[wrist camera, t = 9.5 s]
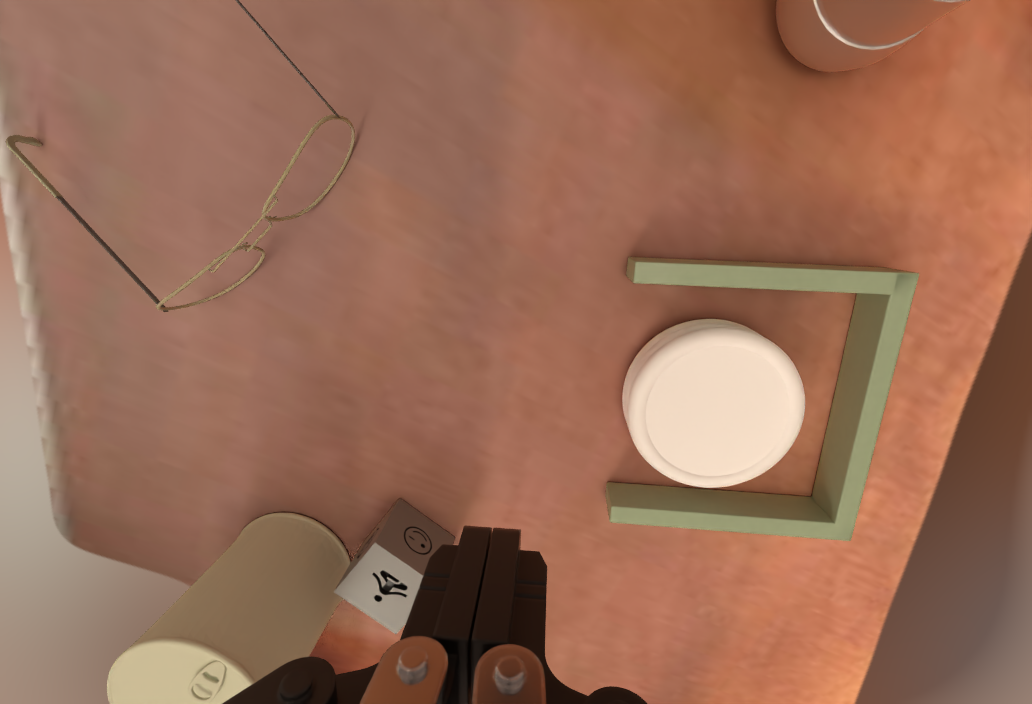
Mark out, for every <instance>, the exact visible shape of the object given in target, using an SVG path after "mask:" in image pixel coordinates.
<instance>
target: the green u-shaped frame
mask: <svg viewBox="0 0 1032 704" xmlns="http://www.w3.org/2000/svg"><path fill="white" fill-rule="evenodd" d="M626 276H627V277H628V278H629V279H630V280H631V281H632V282H633V283H640V284H662V285H684V286H707V287H729V288H751V289H774V290H796V291H818V292H841V293H857V296H856V300H855V305H854V309H853V314H852V318H851V322H850V327H849V331H848V336H847V340H846V345H845V349H844V354H843V358H842V363H841V367H840V371H839V376H838V380H837V385H836V389H835V394H834V398H833V403H832V407H831V412H830V416H829V421H828V425H827V429H826V434H825V438H824V443H823V447H822V452H821V456H820V461H819V465H818V470H817V474H816V479H815V483H814V487H813V492H812V496H811V497H808V496H794V495H780V494H766V493H752V492H738V491H724V490H711V489H697V488H683V487H669V486H655V485H641V484H627V483H614V482H607V485H606V496H605V497H606V503H607V509H608V515H609V521H610V522H612V523H625V524H637V525H650V526H663V527H676V528H689V529H702V530H715V531H728V532H740V533H753V534H766V535H779V536H792V537H805V538H818V539H831V540H843V541H851V538H852V534H853V530H854V526H855V522H856V518H857V514H858V510H859V506H860V503H861V499H862V495H863V491H864V487H865V483H866V479H867V475H868V471H869V467H870V463H871V460H872V456H873V452H874V448H875V444H876V440H877V436H878V432H879V428H880V424H881V420H882V417H883V413H884V409H885V405H886V401H887V397H888V393H889V389H890V385H891V381H892V377H893V374H894V370H895V366H896V362H897V358H898V354H899V350H900V346H901V342H902V338H903V335H904V331H905V327H906V323H907V319H908V315H909V311H910V307H911V303H912V299H913V295H914V292H915V289H916V285H917V281H918V277H919V273H915V272H909V271H903V270H897V269H891V268H885V267H865V266H841V265H817V264H792V263H768V262H744V261H720V260H695V259H671V258H647V257H628V263H627V274H626Z"/></svg>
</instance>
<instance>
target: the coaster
mask: <svg viewBox="0 0 1032 704" xmlns="http://www.w3.org/2000/svg"><path fill="white" fill-rule="evenodd" d="M622 405H623V412H624V416H625V420H626V422H627V426H628V429H629V431H630V435H631V438H632V440H633V442H634V444H635V446H636V448H637V449H638V451H639V453H640V454H641V455H642V456H643V458H644V459H645V460H646V461H647V462H648V463H649V464H650V465H651V466H652V467H654V468H655V469H656V470H658V471H659V472H660V473H662V474H663V475H665V476H667V477H669V478H671V479H673V480H675V481H678V482H680V483H683V484H687V485H691V486H696V487H705V488H718V487H726V486H732V485H736V484H740V483H743V482H746V481H748V480H751V479H753V478H755V477H757V476H759V475H761V474H763V473H764V472H766V471H767V470H769V469H770V468H771V467H773V466H774V465H775V464H776V463H777V462H779V461H780V460H781V458H782V457H783V456H784V455H785V454H786V453H787V452H788V450H789V449H790V448H791V446H792V445H793V443H794V441H795V439H796V438H797V436H798V433H799V431H800V428H801V425H802V422H803V418H804V412H805V393H804V388H803V384H802V381H801V378H800V375H799V373H798V371H797V369H796V367H795V365H794V363H793V362H792V361H791V359H790V358H789V356H788V355H787V354H786V353H785V352H784V351H783V350H782V349H781V348H780V347H778V346H777V345H776V344H774V343H773V342H772V341H770V340H768V339H767V338H765V337H763V336H762V335H760V334H758V333H757V332H755V331H753V330H752V329H750V328H748V327H746V326H744V325H741V324H738V323H735V322H731V321H727V320H720V319H698V320H693V321H688V322H684V323H681V324H678V325H675V326H673V327H671V328H668V329H666V330H664V331H663V332H661V333H659V334H658V335H656V336H655V337H654V338H653V339H651V340H650V341H649V342H648V343H647V344H646V345H645V346H644V347H643V348H642V349H641V350H640V352H639V353H638V354H637V356H636V357H635V358H634V360H633V362H632V364H631V365H630V367H629V370H628V372H627V375H626V378H625V382H624V386H623V393H622Z"/></svg>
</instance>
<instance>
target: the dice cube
mask: <svg viewBox="0 0 1032 704" xmlns="http://www.w3.org/2000/svg"><path fill="white" fill-rule="evenodd" d="M454 540H455V537H454V536H452V535H451V534H450V533H448V532H447V531H445V530H444V529H443V528H441V527H440V526H438V525H437V524H436V523H434V522H433V521H431V520H430V519H429V518H427V517H426V516H424V515H423V514H422V513H420V512H419V511H417V510H416V509H415V508H413V507H412V506H410V505H409V504H408V503H406V502H405V501H403V500H402V499H401V498H399V499H398V500H397V502H396V503H395V504H394V505H393V507H392V508H391V509H390V510H389V511H388V513H387V514H386V515H385V516H384V517H383V519H382V520H381V521H380V522H379V523H378V525H377V526H376V527H375V528H374V530H373V531H372V532H371V533H370V534H369V536H368V537H367V538H366V539H365V540H364V542H363V543H362V545H361V546H360V548H359V550H358V551H357V553H356V555H355V557H354V558H353V560H352V562H351V563H350V565H349V567H348V568H347V570H346V572H345V573H344V575H343V577H342V579H341V580H340V582H339V584H338V585H337V587H336V589H335V590H334V593H336V594H337V595H339V596H340V597H342V598H343V599H345V600H346V601H348V602H349V603H350V604H352V605H353V606H355V607H356V608H358V609H359V610H361V611H362V612H364V613H365V614H367V615H368V616H370V617H371V618H373V619H374V620H376V621H377V622H379V623H380V624H382V625H383V626H384V627H386V628H387V629H389V630H390V631H392V632H393V633H395V634H397V633H398V632H399V631H400V630H401V628H402V627H403V626H404V625H405V624H406V622H407V619H408V617H409V614H410V611H411V608H412V605H413V603H414V600H415V597H416V594H417V592H418V589H419V587H420V583H421V581H422V578H423V576H424V572H425V569H426V567H427V564H428V561H429V558H430V557H431V556H432V555H433V554H434V553H435V552H436V551H437V550H438V549H439V548H440V546H441V545H442V544H445V545H453V543H454Z"/></svg>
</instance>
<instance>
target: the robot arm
mask: <svg viewBox="0 0 1032 704" xmlns="http://www.w3.org/2000/svg"><path fill="white" fill-rule="evenodd" d="M520 544H521V530H518V529H505V528H493V533H492V528H490V527H476V526H464V528H463V532H462V535H461V538H460V542H459V545H445V544H442V545H441V546H440V548H439V549H438V550H437V551H436V552H435V553H434V554H433V555H432V556H431V557H430V558H429V561H428V564H427V567H426V569H425V572H424V576H423V578H422V581H421V583H420V587H419V589H418V592H417V594H416V597H415V600H414V603H413V605H412V608H411V611H410V614H409V617H408V619H407V622H406V625H405V628H404V630H403V633H402V636H401V639H400V641H398V642H396V643H395V644H393V645H392V646H391V647H390V648H389V649H387V651H386V652H385V653H384V654H383V656H382V658H381V659H380V662H379V663H377V664H375V665H373V666H370V667H368V668H365V669H361V670H357V671H352V672H347V673H342V674H338V675H335V672H334V669H333V667H332V666H331V665H330V664H329V663H328V662H327V661H326V660H324V659H321V658H318V657H303V658H298V659H295V660H292V661H290V662H287V663H286V664H284V665H282V666H280V667H279V668H277V669H276V670H274V671H272V672H271V673H269V674H268V675H266V676H265V677H263V678H261V679H260V680H258V681H257V682H255V683H254V684H252V685H250V686H249V687H247V688H246V689H244V690H243V691H241V692H239V693H238V694H236V695H235V696H233V697H232V698H230V699H228V700H227V701H225V702H224V703H222V704H647V703H646V702H645V701H644V700H643V699H642V698H641V697H639V696H638V695H637V694H635V693H633V692H631V691H630V690H627V689H624V688H620V687H604V688H600V689H598V690H596V691H594V692H593V693H592V694H590V695H589V696H586V695H584V694H582V693H579V692H577V691H575V690H573V689H571V688H569V687H567V686H565V685H564V684H563V683H561V682H560V681H559V680H558V679H557V678H556V677H555V676H554V675H553V674H552V672H551V670H550V669H549V667H548V665H547V662H546V658H545V622H546V584H547V565H546V564H545V562H544V560H543V558H542V556H541V554H540V552H537V551H524V550H520Z"/></svg>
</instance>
